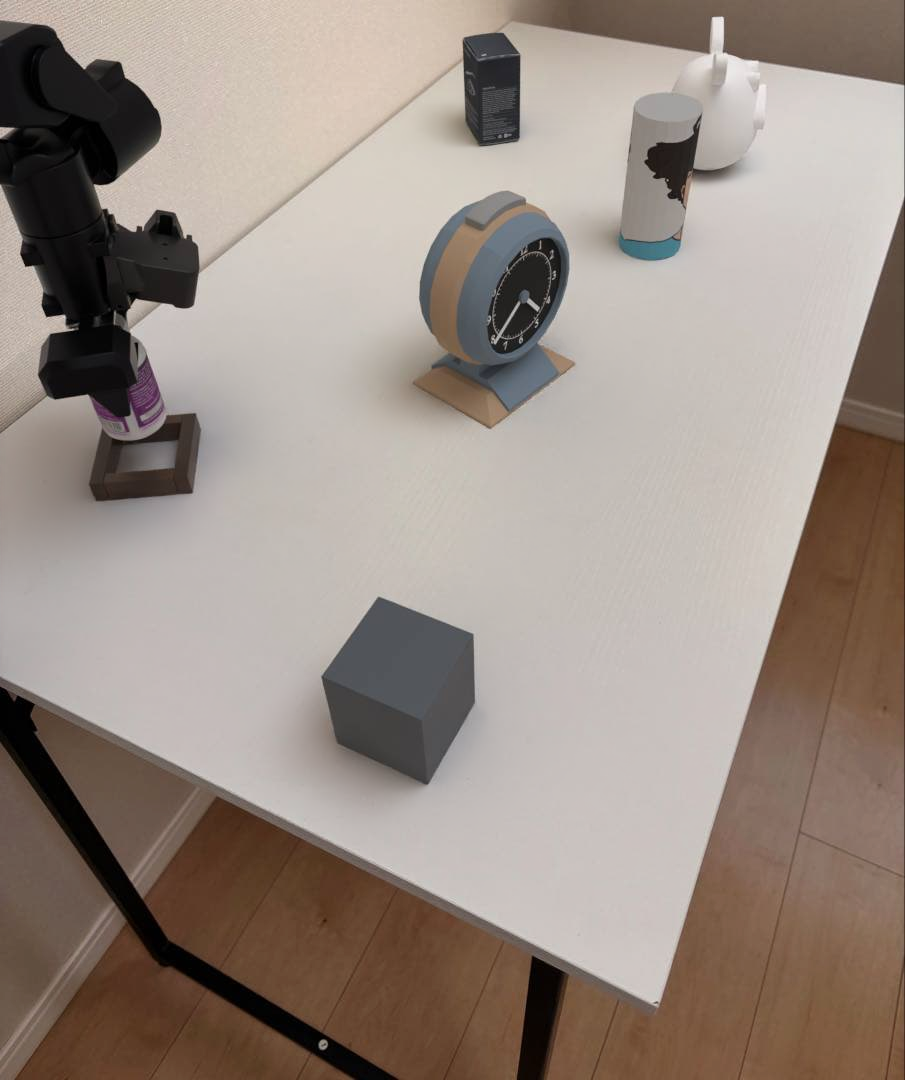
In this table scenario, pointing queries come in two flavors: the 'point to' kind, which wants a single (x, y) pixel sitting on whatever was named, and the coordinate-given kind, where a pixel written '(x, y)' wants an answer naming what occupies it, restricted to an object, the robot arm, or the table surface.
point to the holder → (148, 481)
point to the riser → (401, 688)
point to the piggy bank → (723, 102)
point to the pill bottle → (136, 402)
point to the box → (492, 88)
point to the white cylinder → (659, 174)
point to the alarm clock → (493, 305)
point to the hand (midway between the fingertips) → (124, 394)
